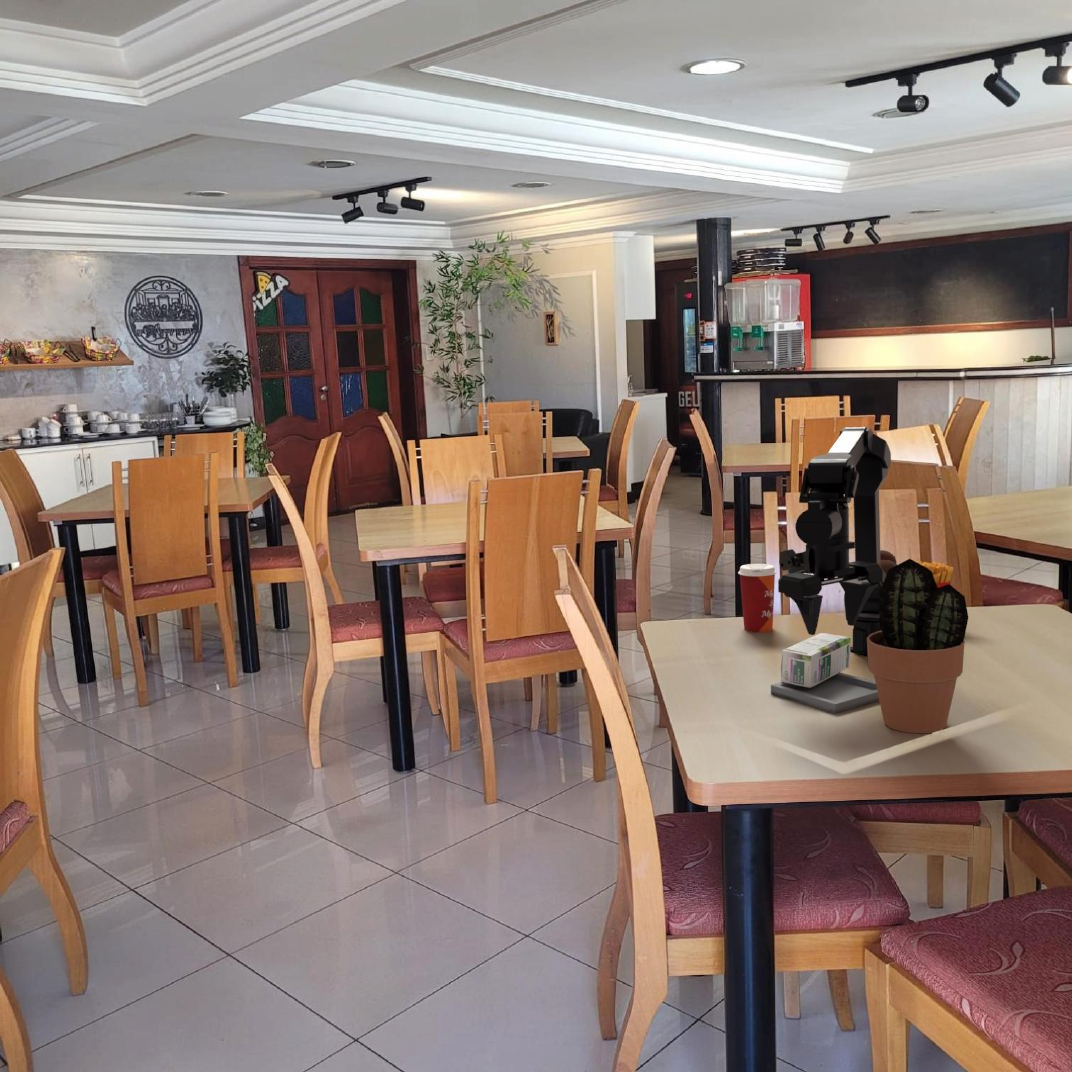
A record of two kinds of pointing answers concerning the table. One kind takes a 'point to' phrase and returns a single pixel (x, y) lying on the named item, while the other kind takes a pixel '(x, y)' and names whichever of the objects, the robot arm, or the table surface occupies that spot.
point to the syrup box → (815, 659)
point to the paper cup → (757, 596)
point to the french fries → (937, 567)
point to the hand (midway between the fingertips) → (831, 629)
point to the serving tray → (831, 693)
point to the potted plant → (917, 648)
